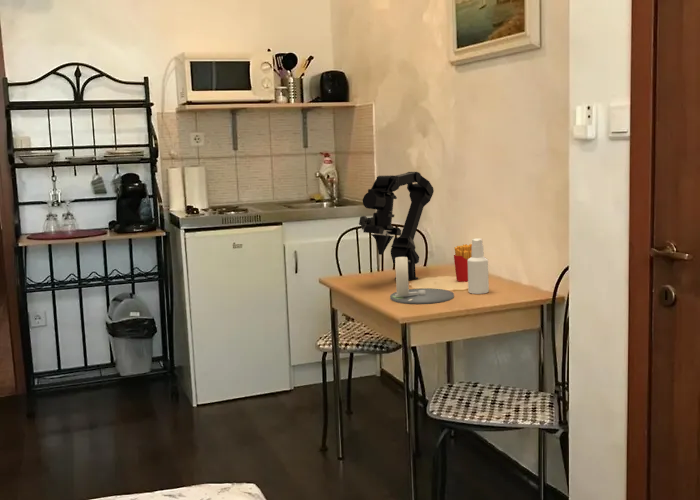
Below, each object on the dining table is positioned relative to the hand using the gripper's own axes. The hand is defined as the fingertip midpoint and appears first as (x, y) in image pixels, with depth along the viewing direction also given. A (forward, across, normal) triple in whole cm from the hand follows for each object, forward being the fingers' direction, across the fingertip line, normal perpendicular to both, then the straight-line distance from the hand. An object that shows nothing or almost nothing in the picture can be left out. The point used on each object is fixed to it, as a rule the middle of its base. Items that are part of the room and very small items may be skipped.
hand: (380, 254), depth 277 cm
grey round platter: (+12, +10, +22) cm, 27 cm away
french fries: (+7, -21, +25) cm, 34 cm away
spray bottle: (+9, -3, +36) cm, 38 cm away
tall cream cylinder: (+12, +14, +18) cm, 26 cm away
